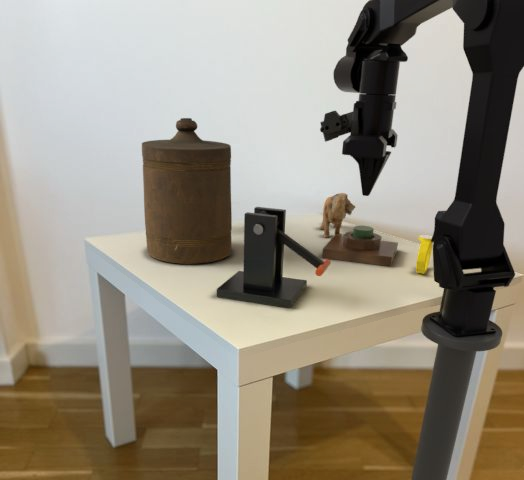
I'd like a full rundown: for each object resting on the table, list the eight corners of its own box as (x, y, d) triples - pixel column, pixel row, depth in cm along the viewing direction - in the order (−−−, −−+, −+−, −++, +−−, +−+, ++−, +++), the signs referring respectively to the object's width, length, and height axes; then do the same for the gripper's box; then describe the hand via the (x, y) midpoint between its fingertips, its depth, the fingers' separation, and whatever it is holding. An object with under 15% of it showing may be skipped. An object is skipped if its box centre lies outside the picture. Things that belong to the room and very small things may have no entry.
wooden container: (207, 237, 107) (206, 114, 97) (246, 257, 95) (249, 121, 86) (134, 246, 99) (124, 115, 89) (167, 269, 88) (160, 122, 78)
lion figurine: (353, 242, 107) (358, 195, 103) (326, 242, 106) (331, 195, 102) (334, 223, 120) (338, 181, 116) (310, 223, 119) (313, 181, 115)
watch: (427, 278, 89) (433, 242, 86) (409, 275, 90) (415, 239, 87) (432, 268, 94) (438, 233, 91) (416, 265, 95) (421, 231, 92)
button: (373, 236, 99) (375, 226, 98) (370, 241, 96) (372, 231, 95) (354, 234, 100) (355, 224, 99) (350, 238, 97) (351, 229, 96)
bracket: (306, 287, 83) (312, 209, 78) (290, 308, 75) (295, 223, 70) (238, 277, 86) (239, 201, 81) (216, 296, 78) (216, 214, 73)
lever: (325, 270, 79) (334, 257, 77) (317, 281, 74) (327, 268, 73) (258, 221, 79) (267, 208, 78) (246, 229, 75) (255, 215, 73)
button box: (396, 251, 102) (399, 232, 101) (390, 266, 94) (393, 246, 92) (333, 243, 105) (335, 225, 104) (322, 257, 97) (323, 238, 95)
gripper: (339, 91, 96) (331, 183, 103) (313, 93, 81) (306, 200, 88) (403, 94, 93) (390, 188, 100) (389, 96, 77) (375, 207, 84)
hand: (365, 195), depth 93 cm, fingers closed
